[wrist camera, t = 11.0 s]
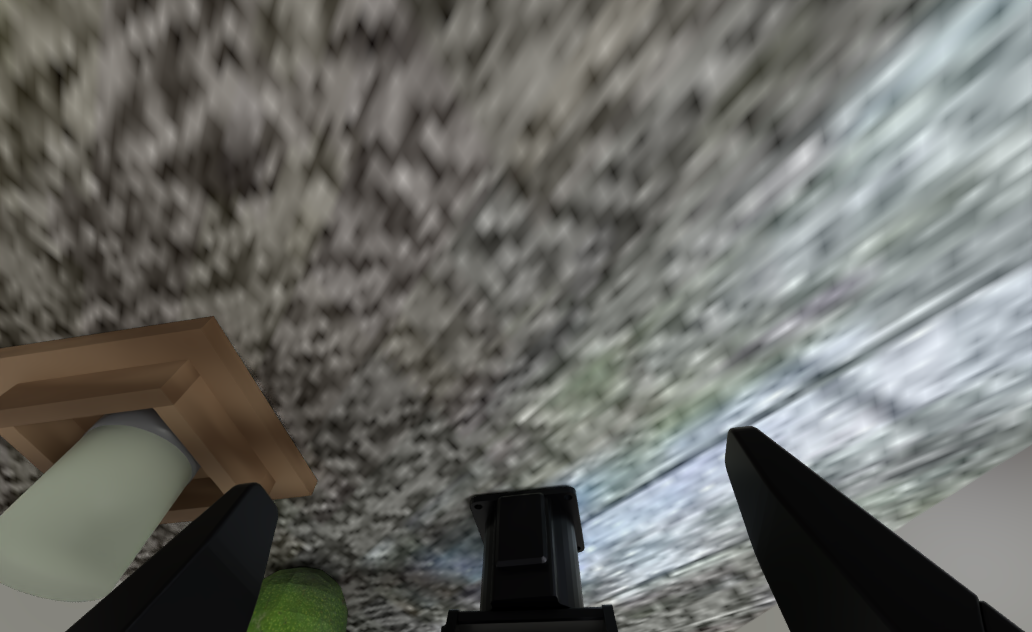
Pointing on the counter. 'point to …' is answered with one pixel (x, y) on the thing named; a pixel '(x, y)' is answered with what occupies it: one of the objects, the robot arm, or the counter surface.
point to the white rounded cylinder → (94, 508)
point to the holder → (153, 405)
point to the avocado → (299, 603)
